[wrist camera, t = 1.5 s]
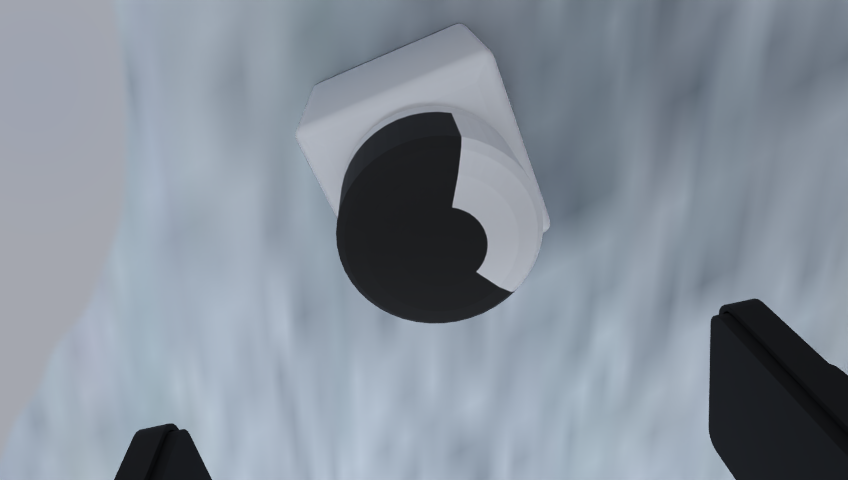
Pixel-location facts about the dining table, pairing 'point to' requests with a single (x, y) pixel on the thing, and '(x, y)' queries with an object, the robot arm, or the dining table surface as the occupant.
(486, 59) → the white capped block
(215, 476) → the dining table surface
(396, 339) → the dining table surface
